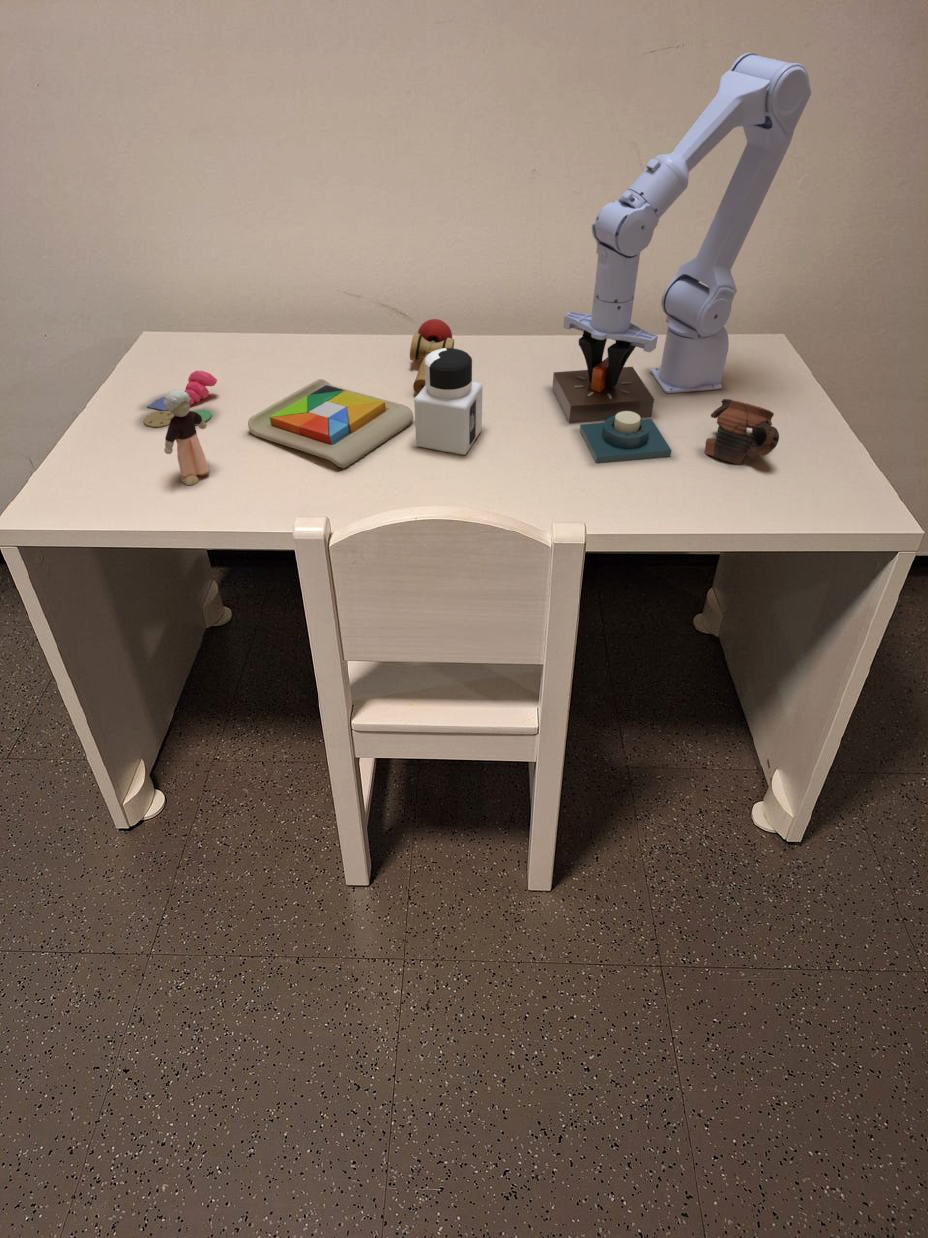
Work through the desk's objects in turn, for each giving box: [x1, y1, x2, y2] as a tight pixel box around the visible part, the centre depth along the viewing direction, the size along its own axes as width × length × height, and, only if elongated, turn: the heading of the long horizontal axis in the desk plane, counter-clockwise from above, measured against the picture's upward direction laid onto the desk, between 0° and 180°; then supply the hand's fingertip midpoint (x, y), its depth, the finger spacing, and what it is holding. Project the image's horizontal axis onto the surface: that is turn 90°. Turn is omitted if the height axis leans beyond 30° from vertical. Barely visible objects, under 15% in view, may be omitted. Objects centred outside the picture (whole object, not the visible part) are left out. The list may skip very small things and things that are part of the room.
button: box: [614, 411, 642, 434], centre depth 116 cm, size 4×4×2 cm
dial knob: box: [591, 356, 609, 392], centre depth 124 cm, size 5×2×4 cm, turn 144°
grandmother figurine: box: [163, 389, 211, 486], centre depth 109 cm, size 8×4×13 cm, turn 164°
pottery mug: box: [704, 398, 780, 466], centre depth 116 cm, size 12×10×8 cm
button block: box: [579, 415, 672, 464], centre depth 118 cm, size 11×9×3 cm
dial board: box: [551, 366, 655, 424], centre depth 127 cm, size 13×11×3 cm
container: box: [413, 348, 483, 456], centre depth 116 cm, size 8×8×13 cm
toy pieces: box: [142, 370, 218, 428], centre depth 125 cm, size 12×11×4 cm
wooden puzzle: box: [247, 378, 414, 469], centre depth 121 cm, size 18×19×4 cm
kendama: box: [409, 318, 455, 395], centre depth 134 cm, size 8×6×18 cm
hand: (602, 383), depth 126 cm, fingers closed
